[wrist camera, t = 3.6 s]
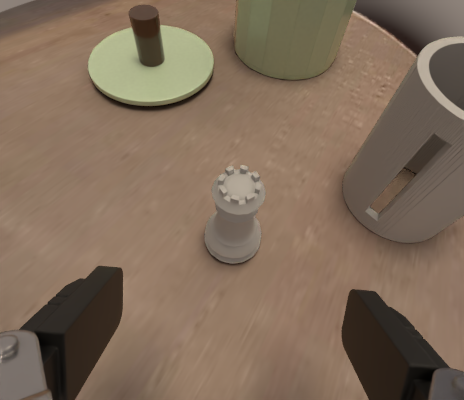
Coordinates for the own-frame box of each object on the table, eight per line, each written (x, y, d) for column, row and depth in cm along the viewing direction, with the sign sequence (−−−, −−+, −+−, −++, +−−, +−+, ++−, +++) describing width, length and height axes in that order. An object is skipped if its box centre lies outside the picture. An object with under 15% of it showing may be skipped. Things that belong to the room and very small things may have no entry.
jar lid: (66, 90, 32) (37, 33, 27) (128, 24, 39) (115, -32, 34) (186, 125, 31) (180, 70, 26) (229, 49, 38) (232, -6, 32)
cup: (446, 175, 29) (572, 61, 19) (443, 259, 25) (606, 168, 14) (352, 144, 31) (422, 22, 20) (332, 218, 26) (410, 109, 16)
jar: (220, 64, 36) (222, -43, 27) (250, 11, 43) (260, -89, 34) (325, 91, 35) (365, -12, 26) (340, 32, 41) (376, -67, 32)
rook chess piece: (194, 250, 24) (186, 196, 17) (220, 206, 26) (222, 142, 19) (246, 275, 23) (260, 228, 16) (268, 227, 25) (289, 169, 19)
